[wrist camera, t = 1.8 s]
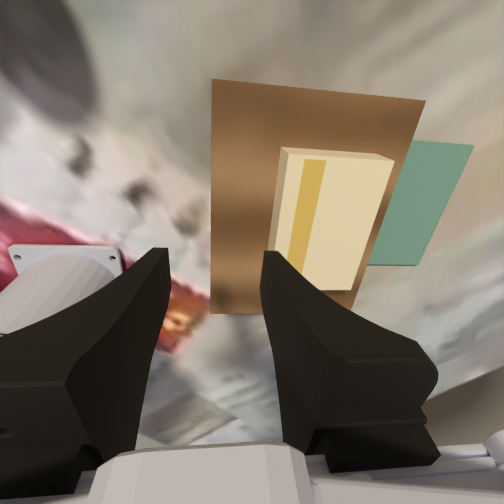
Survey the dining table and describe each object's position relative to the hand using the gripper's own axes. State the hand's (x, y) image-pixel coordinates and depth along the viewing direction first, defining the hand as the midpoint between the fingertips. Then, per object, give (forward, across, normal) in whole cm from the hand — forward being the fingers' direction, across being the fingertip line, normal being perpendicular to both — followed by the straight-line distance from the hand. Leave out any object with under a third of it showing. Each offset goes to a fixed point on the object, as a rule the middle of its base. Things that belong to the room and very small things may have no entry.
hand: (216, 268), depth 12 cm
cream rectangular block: (+6, -6, 0) cm, 9 cm away
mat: (+11, -15, +1) cm, 19 cm away
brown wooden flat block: (+10, -5, +1) cm, 12 cm away
